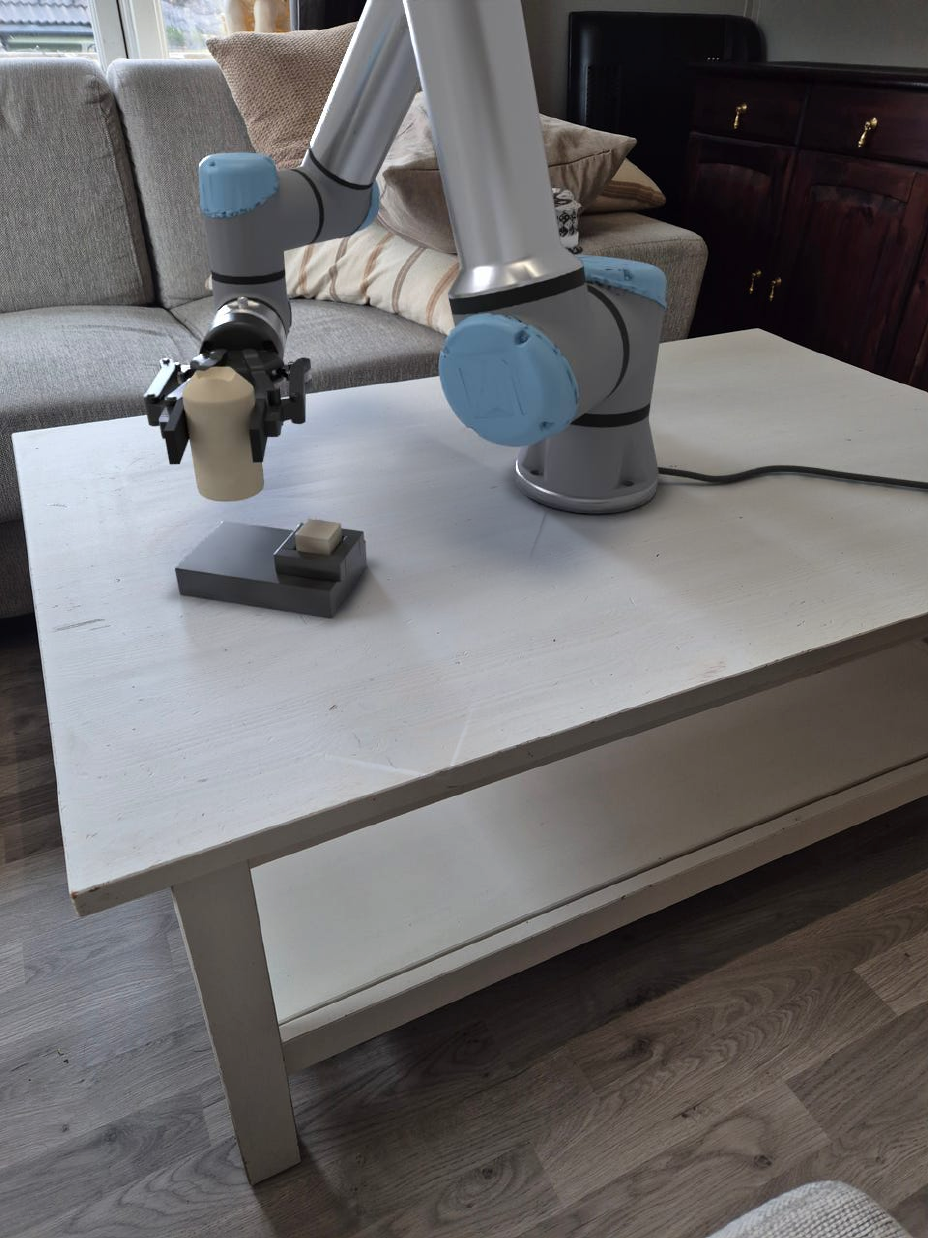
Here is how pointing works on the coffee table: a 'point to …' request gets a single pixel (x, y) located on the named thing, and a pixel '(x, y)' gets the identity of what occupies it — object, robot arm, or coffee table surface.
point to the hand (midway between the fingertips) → (214, 446)
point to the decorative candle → (567, 219)
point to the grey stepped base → (271, 569)
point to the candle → (222, 434)
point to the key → (319, 537)
